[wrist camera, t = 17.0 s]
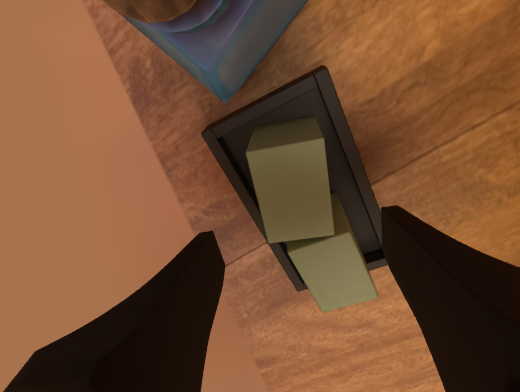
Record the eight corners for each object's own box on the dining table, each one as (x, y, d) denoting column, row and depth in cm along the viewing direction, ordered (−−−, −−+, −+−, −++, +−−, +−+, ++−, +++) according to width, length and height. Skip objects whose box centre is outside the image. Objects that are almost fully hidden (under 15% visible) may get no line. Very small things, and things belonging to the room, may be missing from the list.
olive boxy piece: (271, 202, 21) (268, 243, 17) (254, 126, 19) (245, 152, 14) (323, 195, 21) (335, 235, 16) (314, 114, 18) (324, 137, 14)
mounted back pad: (315, 264, 24) (322, 313, 20) (286, 210, 22) (287, 252, 17) (361, 249, 23) (379, 298, 18) (335, 191, 20) (349, 231, 16)
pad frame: (296, 277, 26) (297, 292, 24) (206, 126, 19) (200, 133, 18) (391, 247, 23) (398, 262, 22) (323, 64, 17) (326, 66, 15)
